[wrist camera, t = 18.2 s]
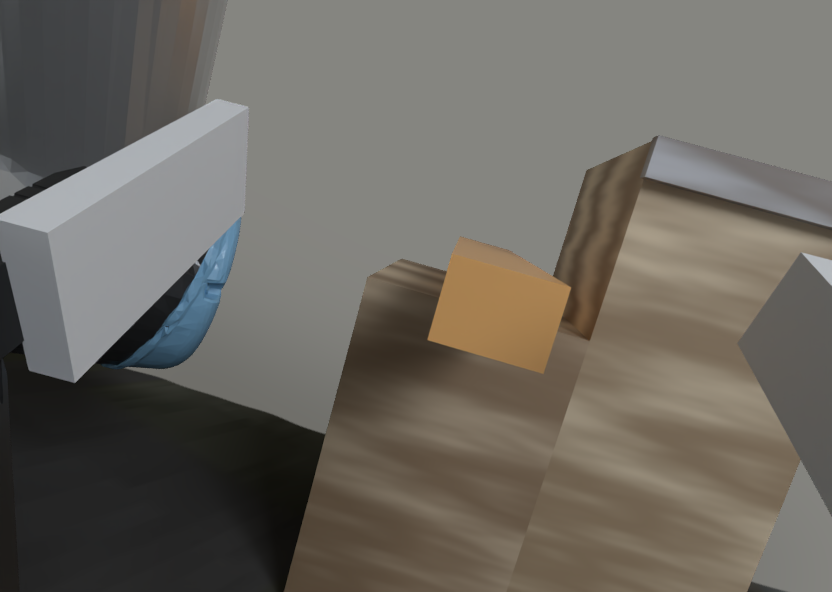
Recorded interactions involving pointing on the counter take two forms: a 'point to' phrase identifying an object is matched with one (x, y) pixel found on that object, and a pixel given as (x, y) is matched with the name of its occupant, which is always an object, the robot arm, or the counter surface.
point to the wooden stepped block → (577, 404)
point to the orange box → (498, 306)
